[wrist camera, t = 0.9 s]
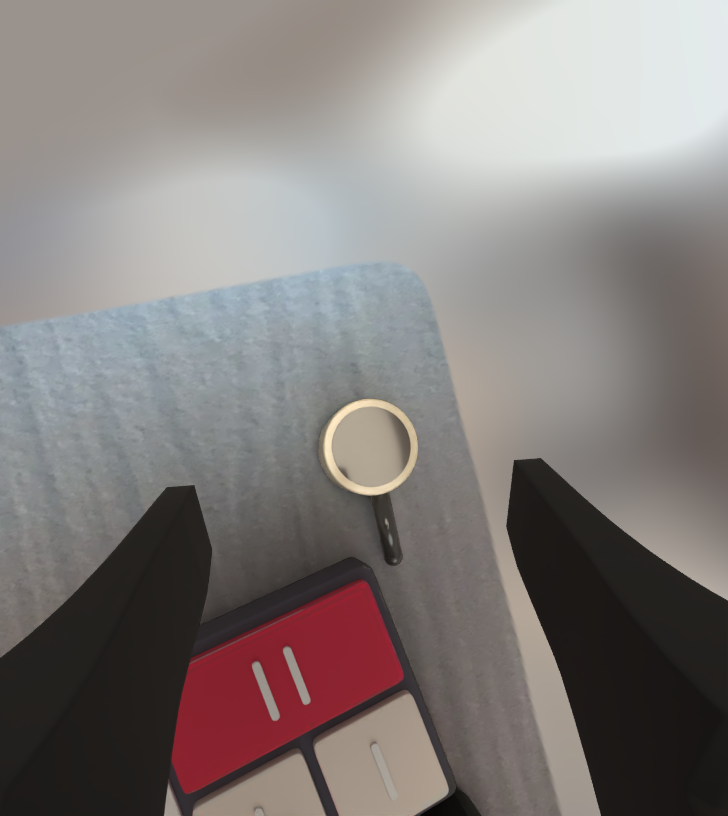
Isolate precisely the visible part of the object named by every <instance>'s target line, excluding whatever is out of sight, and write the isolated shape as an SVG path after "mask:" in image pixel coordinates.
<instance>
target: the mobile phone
mask: <svg viewBox="0 0 728 816" xmlns="http://www.w3.org/2000/svg"><path fill="white" fill-rule="evenodd" d="M421 816H481V815H480V813H479V812H478V810H477V809H476V807H475V806H474V804H473V803H472V801H471V800H470V798H469V797H468V796H467V795H466V794H465V793H463V792H462V791H460V790H457V789H455V792H454V793H453V794H452V795H451V796H450V797H448V798H447V799H445V800H443V801H442V802H440V803H439V804H437V805H435V806H434V807H432V808H430V809H429V810H427V811H425V812H424V813H422V814H421Z"/></svg>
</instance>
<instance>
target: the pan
mask: <svg viewBox="0 0 728 816" xmlns="http://www.w3.org/2000/svg"><path fill="white" fill-rule="evenodd" d="M318 454H319V459H320V463H321V466H322V468H323V470H324V472H325V473H326V475H327V476H328V477H329V479H330V480H331V481H332V482H333V483H334V484H336V485H337V486H338V487H340V488H342V489H344V490H346V491H349V492H353V493H357V494H361V495H368V496H371V500H372V505H373V510H374V514H375V519H376V523H377V528H378V533H379V537H380V542H381V547H382V551H383V556H384V560H385V562H386V563H387V564H388V565H390V566H396V565H398V564H400V562H401V561H402V558H403V555H402V550H401V545H400V541H399V536H398V531H397V527H396V522H395V518H394V513H393V508H392V504H391V499H390V495H389V492H390V491H392V490H394V489H395V488H397V487H399V486H400V485H401V484H402V483H403V482H404V481H405V480H406V479H407V478H408V476H409V475H410V474H411V472H412V470H413V468H414V466H415V463H416V459H417V454H418V441H417V436H416V432H415V429H414V427H413V425H412V423H411V421H410V420H409V418H408V417H407V416H406V415H405V414H404V413H403V412H402V411H401V410H400V409H399V408H397V407H396V406H394V405H393V404H391V403H388V402H386V401H383V400H379V399H361V400H357V401H354V402H352V403H349V404H348V405H346V406H344V407H343V408H342V409H340V410H339V411H338V412H336V413H335V414H334V415H333V416H332V417H331V418H330V419H329V420H328V421H327V422H326V424H325V426H324V427H323V429H322V432H321V434H320V438H319V444H318Z"/></svg>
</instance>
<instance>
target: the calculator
mask: <svg viewBox="0 0 728 816" xmlns="http://www.w3.org/2000/svg"><path fill="white" fill-rule="evenodd" d="M455 789H456V781H455V778H454V775H453V773H452V770H451V768H450V765H449V763H448V760H447V758H446V755H445V752H444V750H443V747H442V745H441V742H440V740H439V737H438V735H437V732H436V730H435V727H434V724H433V722H432V719H431V717H430V714H429V712H428V709H427V707H426V704H425V702H424V699H423V696H422V694H421V691H420V689H419V686H418V684H417V681H416V679H415V676H414V674H413V671H412V668H411V666H410V663H409V661H408V658H407V656H406V653H405V651H404V648H403V646H402V643H401V640H400V638H399V635H398V633H397V630H396V628H395V625H394V623H393V620H392V618H391V615H390V612H389V610H388V607H387V605H386V602H385V600H384V597H383V595H382V592H381V590H380V587H379V585H378V582H377V579H376V577H375V574H374V572H373V570H372V569H371V567H369V566H368V565H367V564H365V563H363V562H361V561H360V560H358V559H356V558H353V557H351V558H348V559H345V560H343V561H341V562H338V563H336V564H334V565H332V566H330V567H327V568H325V569H323V570H321V571H319V572H317V573H314V574H312V575H310V576H308V577H306V578H303V579H301V580H299V581H297V582H295V583H293V584H290V585H288V586H286V587H284V588H282V589H279V590H277V591H275V592H273V593H271V594H269V595H266V596H264V597H262V598H260V599H258V600H255V601H253V602H251V603H249V604H247V605H245V606H242V607H240V608H238V609H236V610H234V611H231V612H229V613H227V614H225V615H223V616H221V617H218V618H216V619H214V620H212V621H210V622H207V623H205V624H203V625H201V626H199V628H198V632H197V636H196V640H195V644H194V648H193V652H192V656H191V660H190V663H189V667H188V671H187V675H186V679H185V683H184V687H183V692H182V697H181V701H180V706H179V712H178V718H177V725H176V732H175V738H174V745H173V751H172V758H171V766H170V774H169V781H168V789H167V796H166V804H165V813H164V816H419V815H420V814H422V813H424V812H425V811H427V810H429V809H430V808H432V807H434V806H435V805H437V804H439V803H440V802H442V801H443V800H445V799H447V798H448V797H450V796H451V795H452V794H453V793H454V792H455Z"/></svg>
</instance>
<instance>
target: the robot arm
mask: <svg viewBox="0 0 728 816" xmlns="http://www.w3.org/2000/svg"><path fill="white" fill-rule="evenodd" d="M506 527H507V531H508V535H509V539H510V542H511V546H512V550H513V553H514V557H515V561H516V564H517V567H518V570H519V572H520V575H521V577H522V580H523V582H524V585H525V587H526V590H527V592H528V595H529V597H530V599H531V602H532V604H533V607H534V609H535V611H536V614H537V616H538V619H539V621H540V623H541V626H542V628H543V631H544V633H545V635H546V638H547V640H548V643H549V645H550V647H551V650H552V652H553V655H554V657H555V660H556V663H557V665H558V668H559V671H560V673H561V676H562V680H563V683H564V686H565V690H566V693H567V696H568V699H569V703H570V706H571V709H572V713H573V716H574V719H575V722H576V726H577V729H578V733H579V737H580V740H581V744H582V747H583V750H584V754H585V758H586V761H587V765H588V768H589V772H590V776H591V780H592V783H593V787H594V791H595V795H596V798H597V802H598V805H599V809H600V813H601V816H728V601H727V600H726V599H724V598H722V597H720V596H719V595H717V594H715V593H713V592H712V591H710V590H708V589H707V588H705V587H703V586H701V585H700V584H699V583H697V582H695V581H694V580H692V579H690V578H689V577H687V576H686V575H684V574H683V573H681V572H680V571H678V570H677V569H675V568H674V567H672V566H671V565H669V564H668V563H666V562H665V561H663V560H662V559H660V558H659V557H658V556H656V555H655V554H653V553H652V552H650V551H649V550H648V549H646V548H645V547H644V546H642V545H641V544H640V543H639V542H637V541H636V540H635V539H633V538H632V537H631V536H629V535H628V534H627V533H625V532H624V531H623V530H622V529H620V528H619V527H618V526H617V525H615V524H614V523H613V522H612V521H610V520H609V519H608V518H607V517H606V516H605V515H603V514H602V513H601V512H600V511H599V510H598V509H596V508H595V507H594V506H593V505H592V504H591V503H589V502H588V501H587V500H586V499H585V498H584V497H583V496H582V495H580V494H579V493H578V492H577V491H576V490H575V489H574V488H573V487H571V486H570V485H569V484H568V483H567V482H566V481H565V480H564V479H563V478H562V477H561V476H560V475H558V473H556V472H555V471H554V470H553V469H552V468H551V467H550V466H549V465H548V464H547V463H545V462H544V461H543V460H542V459H541V458H537V459H526V460H514V465H513V473H512V482H511V491H510V499H509V508H508V517H507V525H506ZM211 557H212V547H211V544H210V540H209V537H208V533H207V529H206V526H205V522H204V519H203V515H202V511H201V508H200V504H199V501H198V497H197V494H196V490H195V486H194V485H191V486H178V487H167V488H166V489H165V490H164V491H163V492H162V494H161V495H160V496H159V497H158V498H157V499H156V501H155V502H154V503H153V504H152V506H151V507H150V508H149V509H148V510H147V512H146V513H145V514H144V515H143V517H142V518H141V519H140V520H139V521H138V523H137V524H136V525H135V526H134V527H133V529H132V530H131V531H130V532H129V533H128V535H127V536H126V537H125V538H124V539H123V540H122V542H121V543H120V544H119V545H118V546H117V547H116V549H115V550H114V551H113V552H112V553H111V554H110V555H109V557H108V558H107V559H106V560H105V561H104V562H103V563H102V564H101V566H100V567H99V568H98V569H97V570H96V571H95V572H94V573H93V574H92V575H91V576H90V577H89V578H88V579H87V580H86V581H85V582H84V584H83V585H82V586H81V587H80V588H79V589H78V590H77V591H76V592H75V593H74V594H73V595H72V596H71V597H70V598H69V599H68V600H67V601H66V602H65V603H64V604H63V605H62V606H61V607H60V608H59V609H58V610H56V611H55V612H54V613H53V614H52V615H51V616H50V617H49V618H48V619H46V620H45V621H44V622H43V623H42V624H41V625H40V626H39V627H38V628H36V629H35V630H34V631H33V632H32V633H31V634H30V635H28V636H27V637H26V638H25V639H24V640H22V641H21V642H20V643H19V644H17V645H16V646H15V647H14V648H12V649H11V650H10V651H9V652H7V653H6V654H5V655H4V656H2V657H1V658H0V816H164V813H165V804H166V796H167V789H168V781H169V774H170V766H171V758H172V751H173V745H174V738H175V732H176V725H177V718H178V712H179V706H180V701H181V697H182V692H183V687H184V683H185V679H186V675H187V671H188V667H189V663H190V660H191V656H192V652H193V648H194V644H195V640H196V636H197V632H198V628H199V624H200V620H201V616H202V612H203V608H204V604H205V600H206V595H207V590H208V583H209V575H210V566H211Z"/></svg>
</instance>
